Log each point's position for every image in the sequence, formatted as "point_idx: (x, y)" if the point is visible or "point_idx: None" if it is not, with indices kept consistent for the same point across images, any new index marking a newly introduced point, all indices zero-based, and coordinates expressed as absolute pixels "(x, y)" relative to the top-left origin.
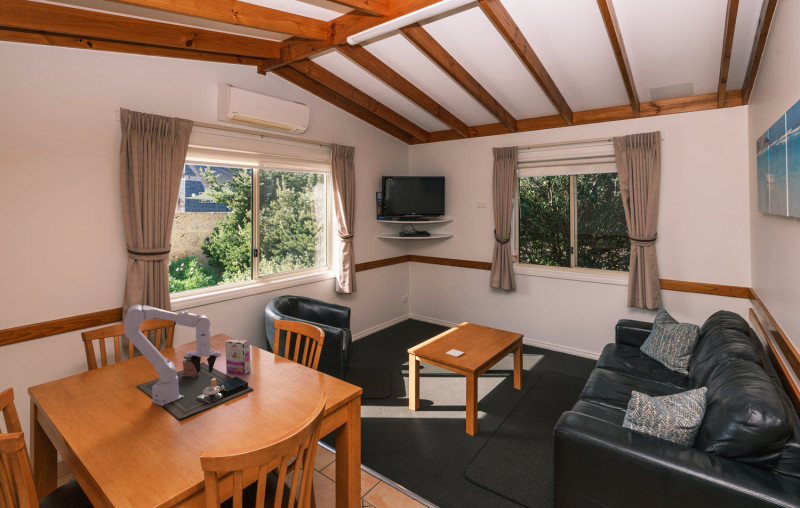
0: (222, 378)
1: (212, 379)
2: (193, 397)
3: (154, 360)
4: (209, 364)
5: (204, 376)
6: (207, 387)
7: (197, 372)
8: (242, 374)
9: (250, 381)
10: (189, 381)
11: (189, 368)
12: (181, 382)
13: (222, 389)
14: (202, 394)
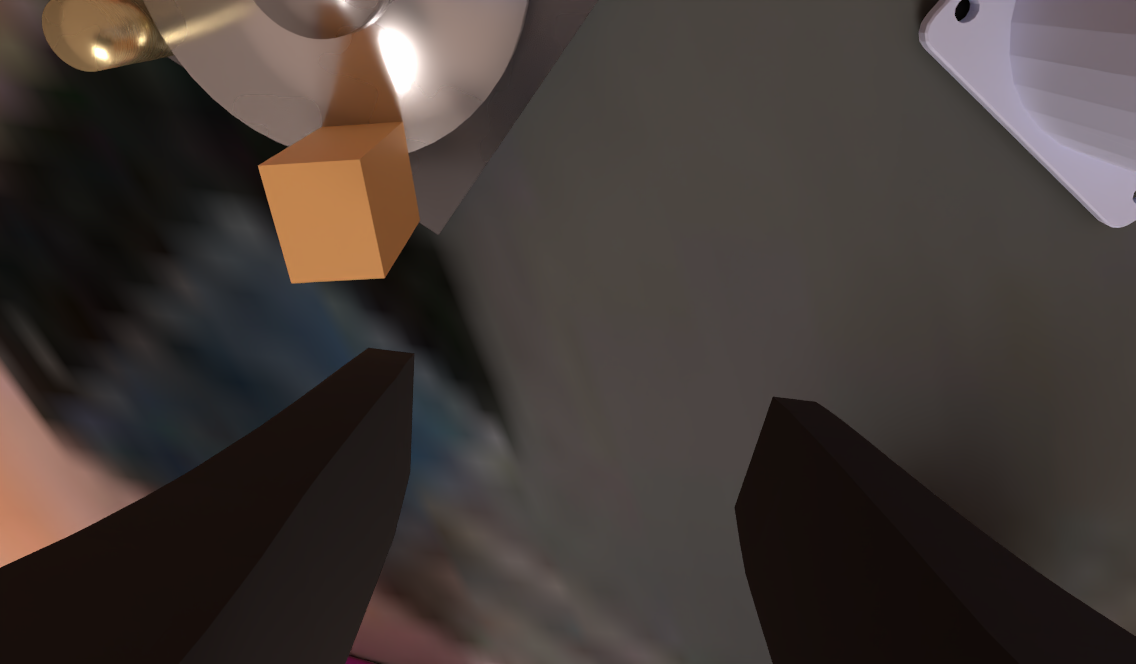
0: (479, 574)
1: (346, 208)
2: (736, 8)
3: None
4: (186, 545)
5: (725, 638)
6: (478, 92)
7: (802, 400)
8: None
9: (36, 461)
10: None
11: None
12: (989, 533)
13: None
14: (576, 22)
